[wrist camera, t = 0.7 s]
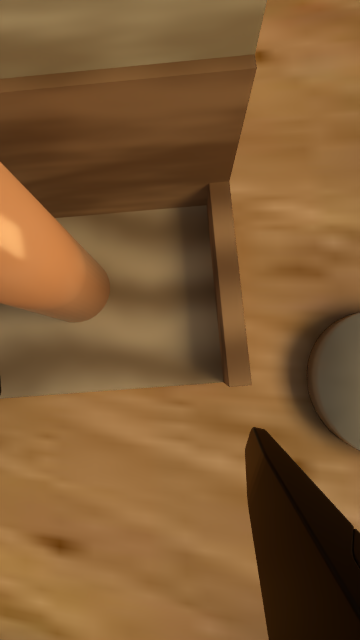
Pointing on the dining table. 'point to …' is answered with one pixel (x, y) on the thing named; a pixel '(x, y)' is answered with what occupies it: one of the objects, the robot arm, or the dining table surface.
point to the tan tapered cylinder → (44, 260)
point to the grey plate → (337, 378)
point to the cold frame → (131, 184)
